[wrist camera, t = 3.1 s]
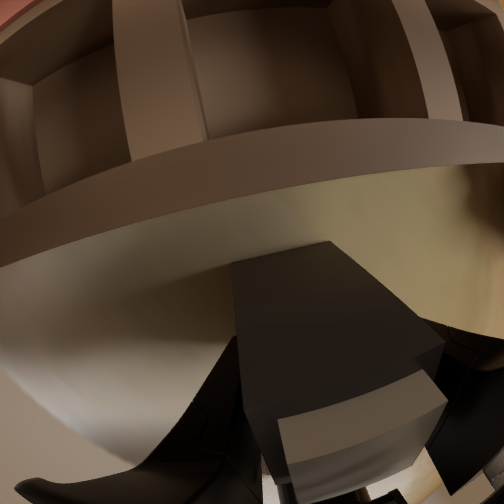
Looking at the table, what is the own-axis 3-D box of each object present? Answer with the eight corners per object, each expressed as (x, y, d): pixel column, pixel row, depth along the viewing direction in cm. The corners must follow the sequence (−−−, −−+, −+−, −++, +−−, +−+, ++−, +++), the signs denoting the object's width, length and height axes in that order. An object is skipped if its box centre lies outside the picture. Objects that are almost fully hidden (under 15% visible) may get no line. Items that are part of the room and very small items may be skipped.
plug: (336, 322, 12) (422, 463, 4) (251, 343, 12) (281, 513, 4) (329, 240, 11) (474, 370, 3) (231, 262, 11) (248, 458, 3)
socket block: (479, 152, 10) (547, 162, 5) (43, 238, 9) (-28, 280, 5) (427, -17, 6) (474, -44, 2) (23, 34, 6) (-32, 9, 1)
